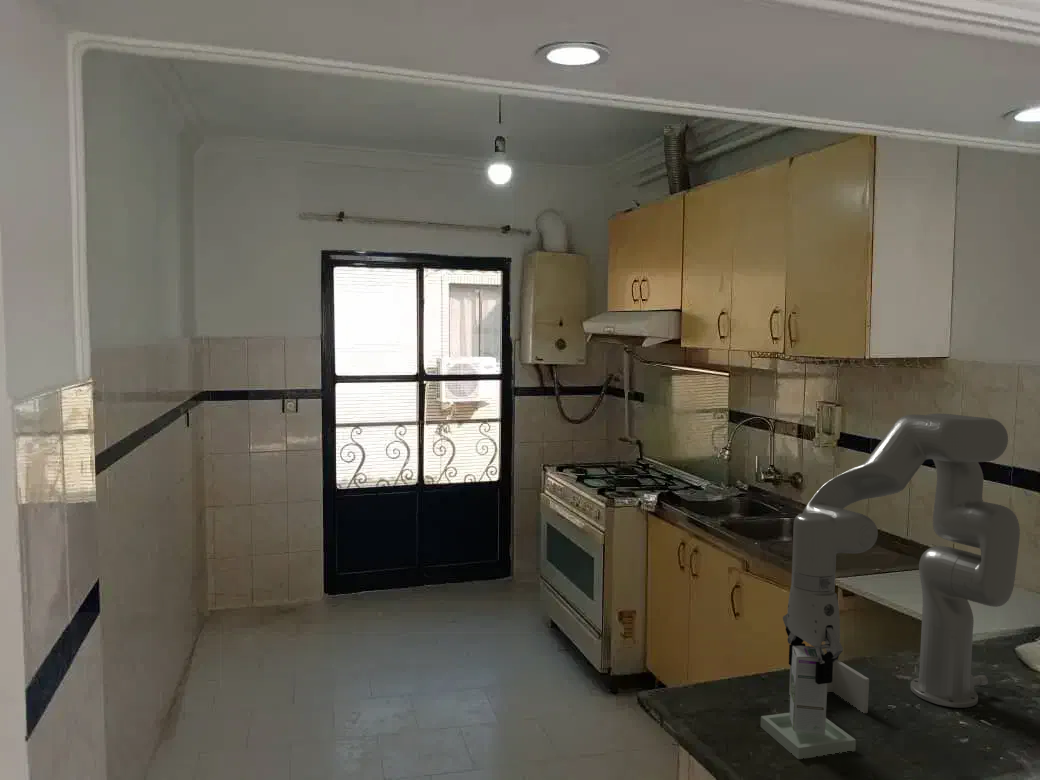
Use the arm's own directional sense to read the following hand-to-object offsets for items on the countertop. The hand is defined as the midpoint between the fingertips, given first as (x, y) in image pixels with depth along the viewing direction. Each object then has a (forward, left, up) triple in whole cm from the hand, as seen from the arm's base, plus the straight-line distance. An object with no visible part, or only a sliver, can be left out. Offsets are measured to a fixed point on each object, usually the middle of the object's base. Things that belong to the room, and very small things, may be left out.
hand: (809, 672), depth 144 cm
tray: (0, 0, -13) cm, 13 cm away
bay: (-13, -11, -13) cm, 21 cm away
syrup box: (0, 0, -11) cm, 11 cm away
